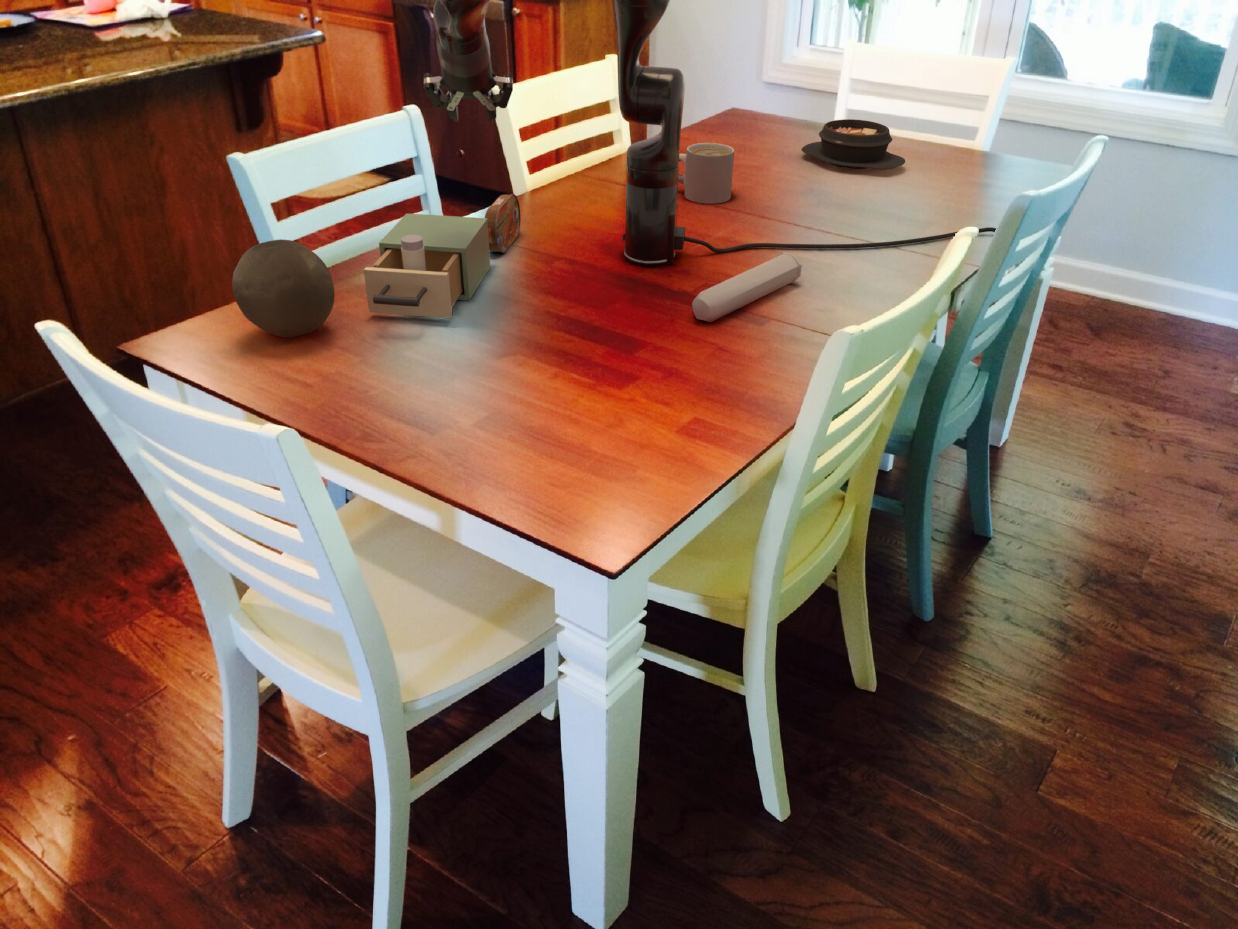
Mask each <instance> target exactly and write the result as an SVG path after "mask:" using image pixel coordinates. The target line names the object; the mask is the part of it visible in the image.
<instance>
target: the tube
mask: <svg viewBox="0 0 1238 929" xmlns="http://www.w3.org/2000/svg"><path fill="white" fill-rule="evenodd" d="M802 266H803V264H802V263H801V261H800V260H799V259H798V258H797V256H796V255H795V254H794V253H791V252H786V251H783V252H782V253H781V254H780V255H778V256H776V257H773V258H771V259H769V260H767V261H765V262H763V263H760V264H758V265H756V266H754V267H752V268H750V269H747V270H744V271H743V272H741V273H739V274H736V275H734V276H732V277H730V278H728V279H726V280H723V281H722V282H720V283H717V284H715V285H713V286H710V287H708V288H707V289H704V290H702V291H700V292H699V293H698V294H697V296H696V297H695V298H694V299H693V301H692V303H691V307H692V312H693V314H694V316H695V318H696V320H700V321H705V322H707V323H713V322H714V321H716V320H718V319H720V318H722V317H725V316H727V315H728V314H731V313H732V312H734V311H737V310H739V309H741V308H742V307H745V306H747V305H748V304H751V303H753V302H754V301H756V300H760V298H763V297H765V296H767V295H770V294H771V293H773V292H775V291H777V290H779V289H781V288H783V287H785V286H787V285H789V284H794V283H795V282H796V281H797V280H799V278H801V275H802V268H803V267H802Z"/></svg>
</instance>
